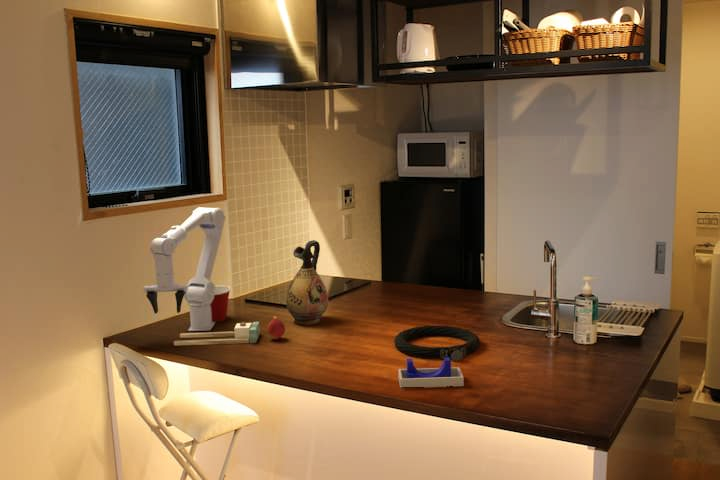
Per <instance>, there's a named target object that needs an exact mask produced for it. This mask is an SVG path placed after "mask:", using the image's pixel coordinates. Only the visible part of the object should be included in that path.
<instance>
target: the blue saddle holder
mask: <svg viewBox="0 0 720 480" xmlns="http://www.w3.org/2000/svg"><path fill="white" fill-rule="evenodd" d="M442 361H443V362H442V364H441V365H440V367H438V368H439V369H438V370H437V371H435V372H433V373H423V372H420V371H419V370H417V369H418V368H416V366H415V365H414V360H413V358H412V357H411V358H406V369H407V378H436V377H444V376H446V377H451V367H452V361H451V360H450V358H449V357H444V360H442ZM407 378H406V379H407Z"/></svg>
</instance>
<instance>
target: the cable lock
mask: <svg viewBox="0 0 720 480" xmlns="http://www.w3.org/2000/svg"><path fill="white" fill-rule="evenodd" d="M436 336H440V337H452V338H456V339H461V340H464V341H465V343H463V344H457V345H453V346H452V345H451V346H438V347H437V346H423V345H418V344H417V345H416V344H413V343H409V342H408V341H410V340H413V339H416V337H417V338H423V337H436ZM480 341H481V340H480V337H479V336H478V335H477V334H476V333H475V332H473V331H472V330H469V329H466V328H462V327H460V326H459V327H458V326H450V325H423V326H414V327H412V328H407V329H403V330H402V331H400V332H399V333H398V334H397V335H396V336H395V337H394V339H393V343H394V347H395V348H396V350H398V351H400V352H401V351H402V352H401V353H403V354H405V353H406V355H409V356H411V355H412V357H415V356H416V358H422V357H423V358H422V359H430V358H432V360H433V358H434V359H440V360H443V359H444V357H449V358H450V360H452V362H460V361H461V360H462V359H463V358H465V356H467V355H469V354H472V353H474V352H475V351H477V350H478V349H479V347H480V344H481V342H480ZM459 360H460V361H459Z"/></svg>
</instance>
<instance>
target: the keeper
mask: <svg viewBox="0 0 720 480" xmlns="http://www.w3.org/2000/svg"><path fill="white" fill-rule="evenodd" d="M252 324H253V322H245V321H244V322H239V323H238V322H237V323H236V324H235V327H234V331H233V332H235V336H234V339H241V338H250V335H249V330H250V328H251V326H252Z"/></svg>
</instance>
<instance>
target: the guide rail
mask: <svg viewBox="0 0 720 480" xmlns="http://www.w3.org/2000/svg"><path fill="white" fill-rule="evenodd" d="M260 332H261V331H260V321H253V322H252V326H251V328H250V330H249V335H250V338H241V339H235V338H225V337H235V331H214V332H213V331H212V332H211V331H209V332H206V331H205V332H182V333H180V334H179V339H180V340H174V341H173V345H174V346H200V345H203V346H205V345H206V346H207V345H231V344H232V345H233V344H256V343H257V341H258V339H259V336H260V335H261V334H260ZM216 337H217V338H216ZM220 337H221V338H220ZM223 337H224V338H223ZM191 338H195V339H191ZM196 338H210V339H196ZM211 338H216V339H211ZM181 339H182V340H181ZM183 339H185V340H183ZM186 339H188V340H186ZM189 339H190V340H189Z"/></svg>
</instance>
